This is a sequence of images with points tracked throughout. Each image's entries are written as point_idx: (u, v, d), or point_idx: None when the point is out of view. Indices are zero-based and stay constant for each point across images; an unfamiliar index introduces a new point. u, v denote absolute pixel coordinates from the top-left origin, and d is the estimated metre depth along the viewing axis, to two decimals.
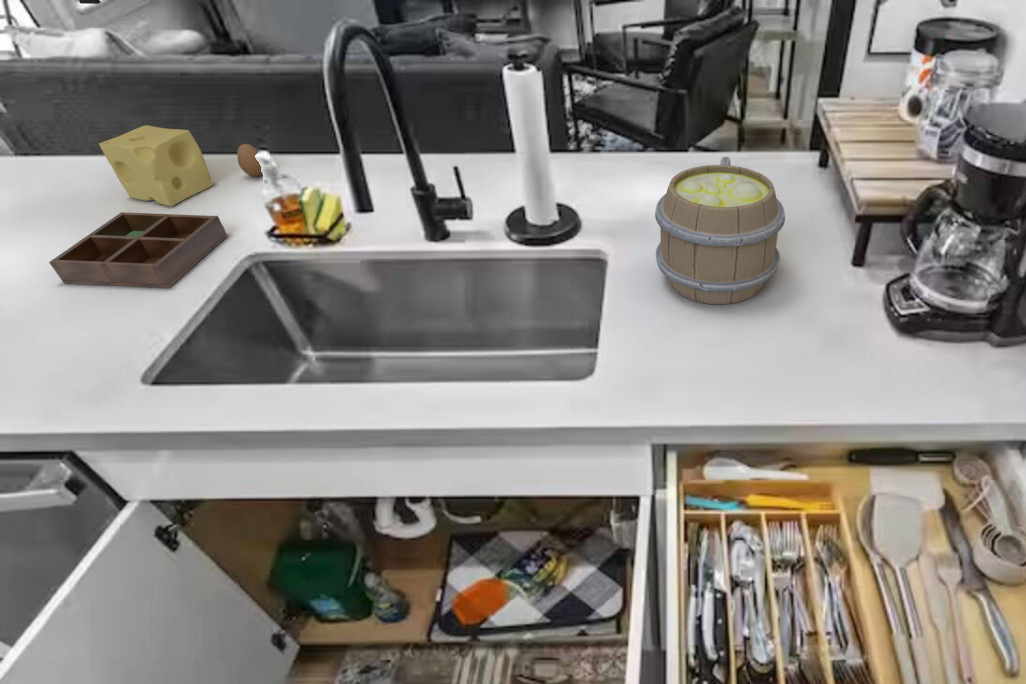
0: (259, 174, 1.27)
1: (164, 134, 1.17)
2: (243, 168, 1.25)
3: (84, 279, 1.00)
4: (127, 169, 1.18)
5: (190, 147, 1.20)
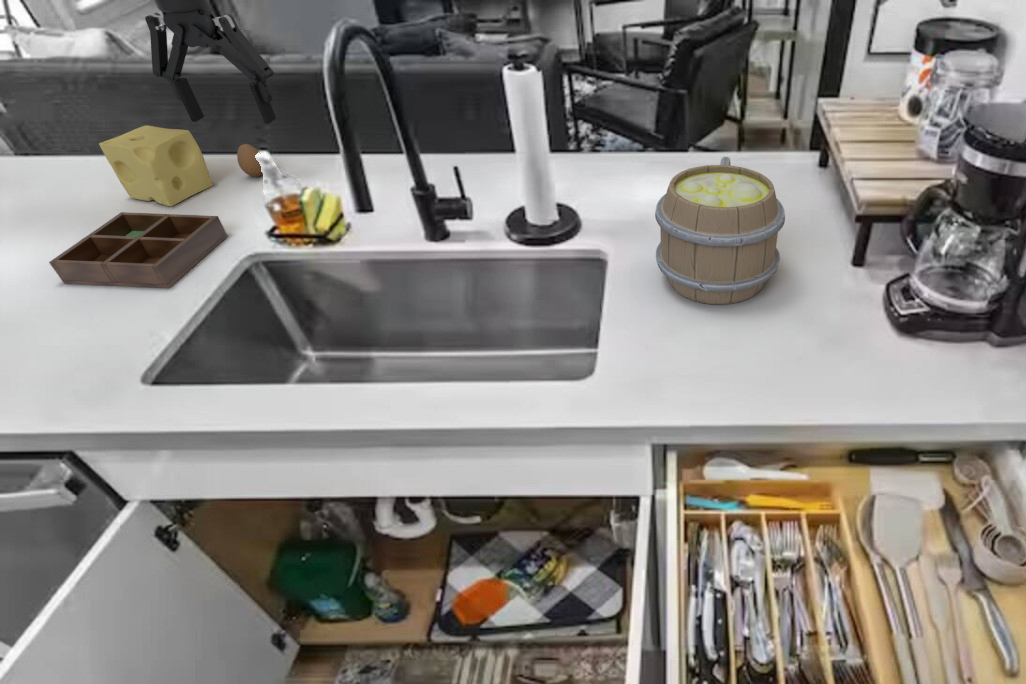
0: (259, 174, 1.27)
1: (164, 134, 1.17)
2: (243, 168, 1.25)
3: (84, 279, 1.00)
4: (128, 169, 1.18)
5: (190, 147, 1.20)
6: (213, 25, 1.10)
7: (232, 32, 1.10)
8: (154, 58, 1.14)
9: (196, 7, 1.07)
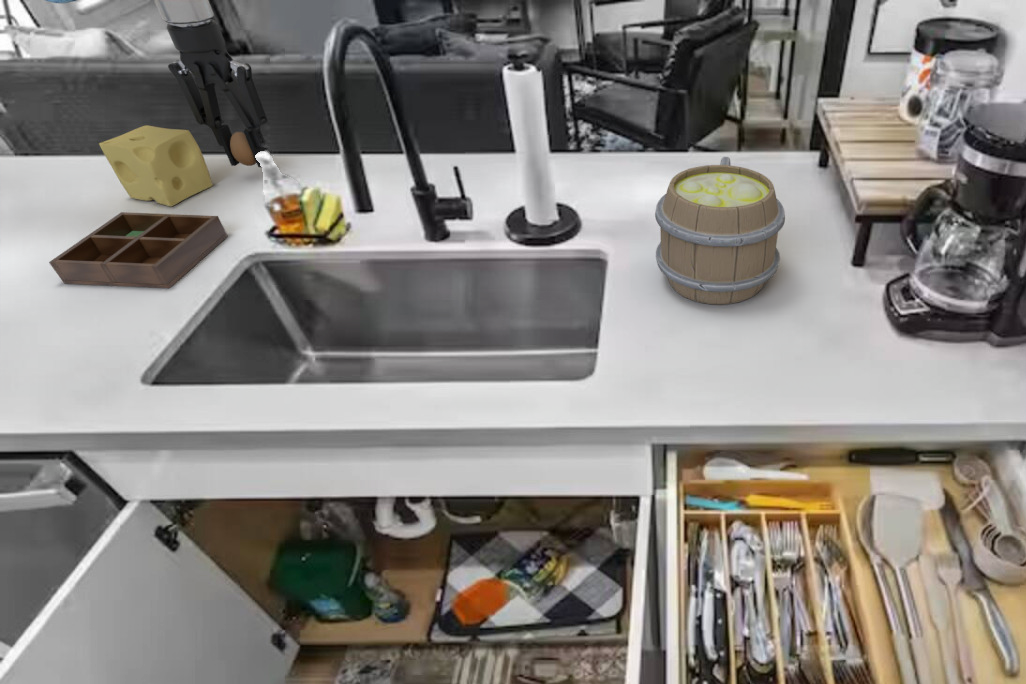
0: (252, 163, 1.26)
1: (164, 134, 1.17)
2: (236, 156, 1.24)
3: (84, 279, 1.00)
4: (128, 169, 1.18)
5: (190, 147, 1.20)
6: (228, 67, 1.14)
7: (245, 81, 1.16)
8: (192, 105, 1.19)
9: (212, 47, 1.11)
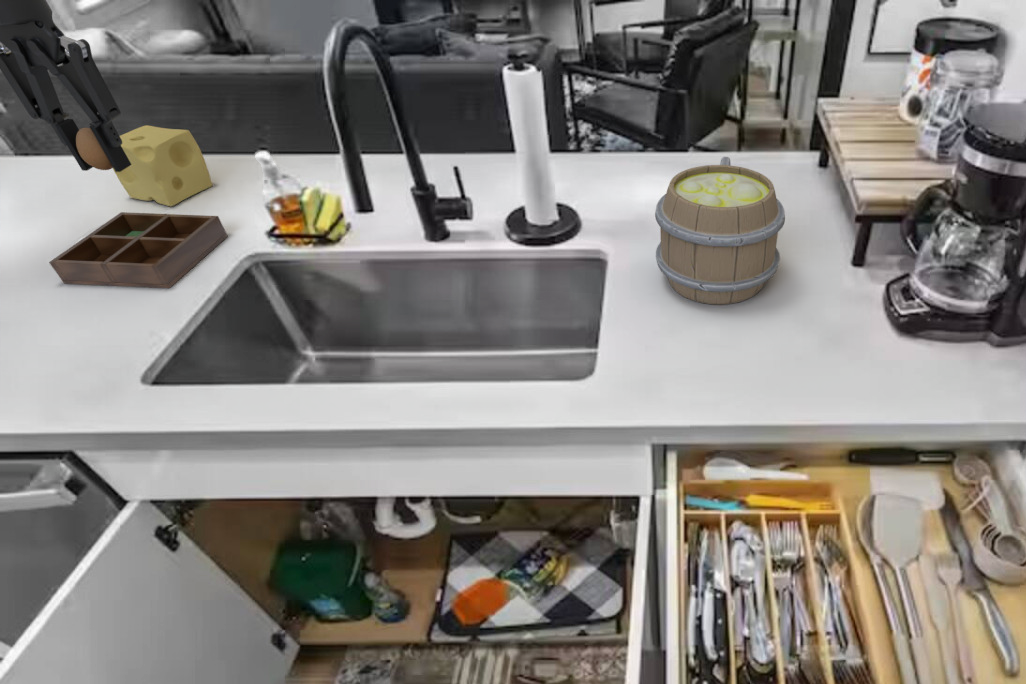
0: (108, 166, 1.00)
1: (164, 134, 1.17)
2: (85, 158, 0.99)
3: (84, 279, 1.00)
4: (127, 169, 1.18)
5: (190, 147, 1.20)
6: (57, 44, 0.89)
7: (82, 63, 0.90)
8: (20, 94, 0.94)
9: (30, 17, 0.86)
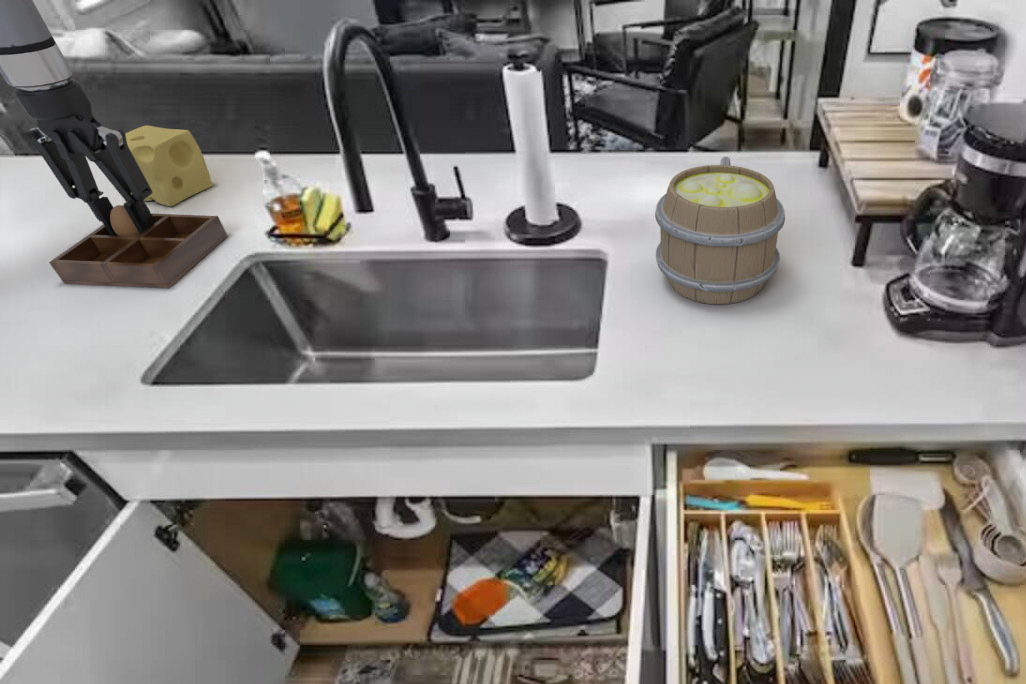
0: None
1: (164, 134, 1.17)
2: (118, 233, 1.05)
3: (84, 279, 1.00)
4: None
5: (190, 147, 1.20)
6: (95, 134, 0.96)
7: (118, 150, 0.97)
8: (59, 177, 1.00)
9: (72, 113, 0.92)
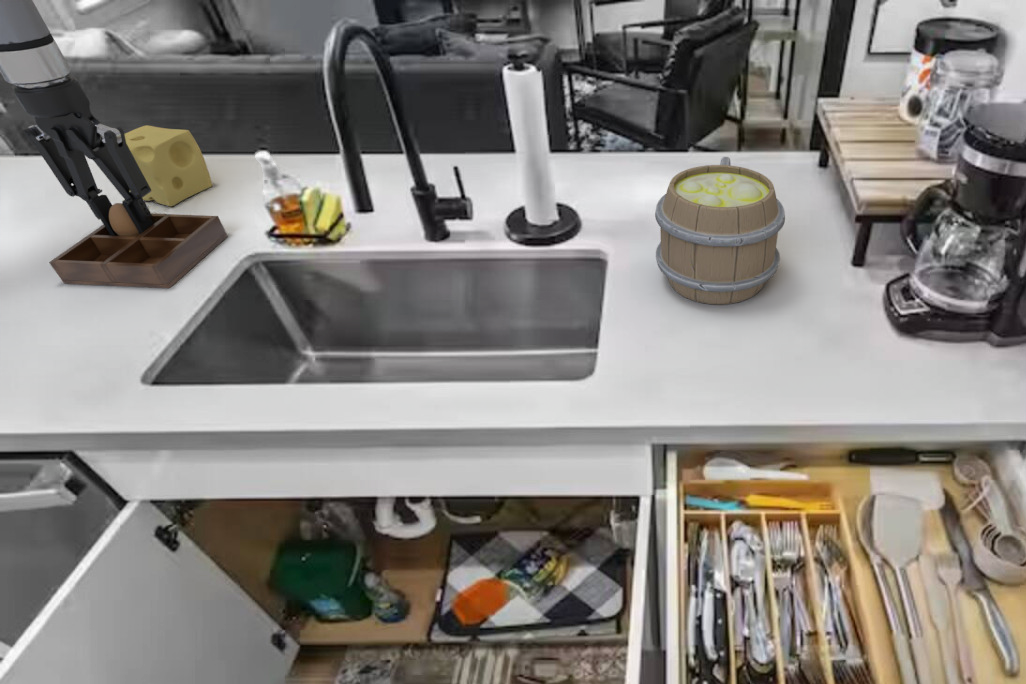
0: None
1: (164, 134, 1.17)
2: (117, 231, 1.05)
3: (84, 279, 1.00)
4: None
5: (190, 147, 1.20)
6: (94, 132, 0.95)
7: (116, 148, 0.97)
8: (58, 175, 1.00)
9: (70, 110, 0.92)
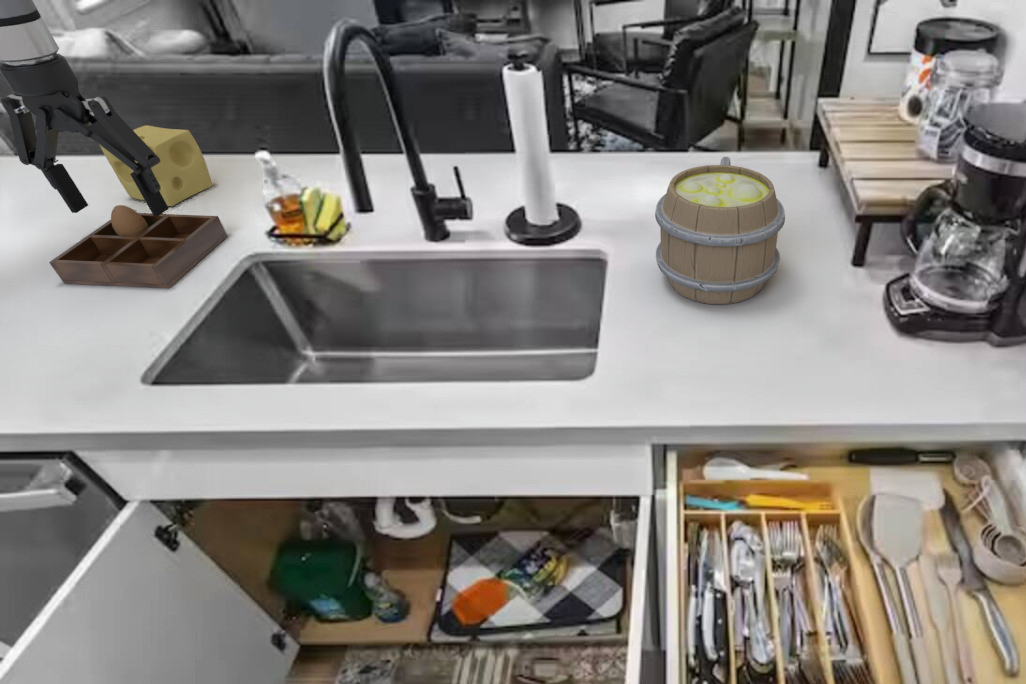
0: None
1: (164, 134, 1.17)
2: (119, 233, 1.05)
3: (84, 279, 1.00)
4: (127, 169, 1.18)
5: (190, 147, 1.20)
6: (82, 108, 0.93)
7: (105, 117, 0.94)
8: (19, 144, 0.97)
9: (57, 89, 0.90)
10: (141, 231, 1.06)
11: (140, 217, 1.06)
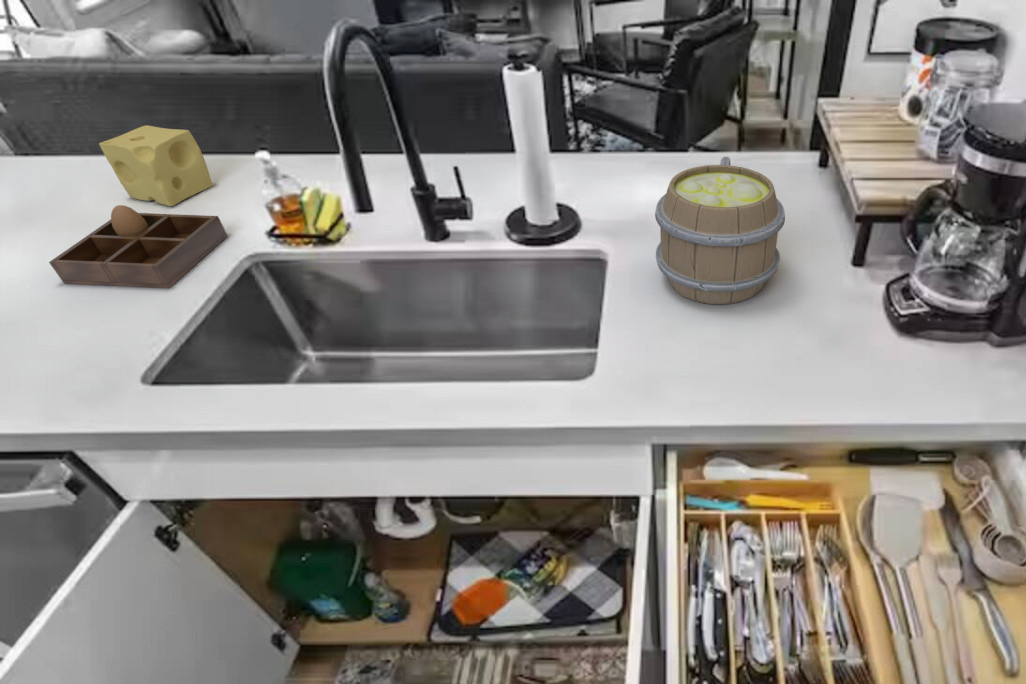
0: None
1: (164, 134, 1.17)
2: (119, 233, 1.05)
3: (84, 279, 1.00)
4: (128, 169, 1.18)
5: (190, 147, 1.20)
6: None
7: None
8: None
9: None
10: (141, 231, 1.06)
11: (140, 217, 1.06)
